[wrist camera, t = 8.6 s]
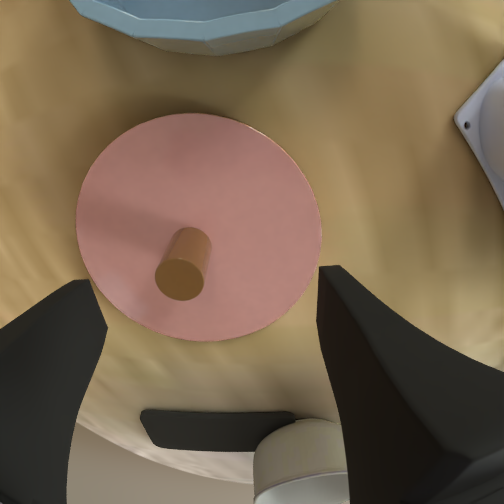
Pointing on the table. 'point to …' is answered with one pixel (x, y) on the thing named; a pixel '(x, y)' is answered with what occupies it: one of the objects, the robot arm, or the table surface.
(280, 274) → the pink knobbed disc
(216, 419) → the phone
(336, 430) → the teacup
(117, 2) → the bowl
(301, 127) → the table surface
